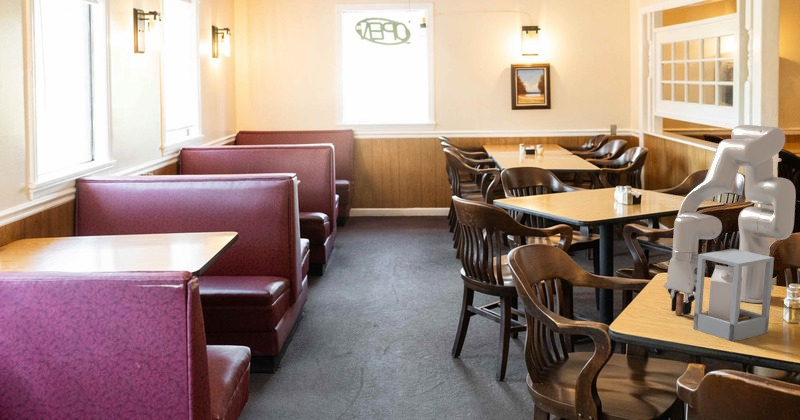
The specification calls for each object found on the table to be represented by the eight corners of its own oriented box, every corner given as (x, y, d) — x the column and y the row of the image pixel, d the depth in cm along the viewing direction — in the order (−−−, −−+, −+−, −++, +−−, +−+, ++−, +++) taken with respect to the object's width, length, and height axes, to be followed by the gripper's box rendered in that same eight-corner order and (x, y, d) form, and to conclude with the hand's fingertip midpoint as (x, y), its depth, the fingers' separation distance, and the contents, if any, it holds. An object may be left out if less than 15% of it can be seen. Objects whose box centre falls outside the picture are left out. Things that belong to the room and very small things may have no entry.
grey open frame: (727, 320, 264) (733, 248, 260) (767, 333, 252) (774, 257, 248) (693, 328, 256) (698, 254, 252) (732, 341, 244) (739, 263, 240)
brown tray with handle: (688, 310, 274) (689, 291, 273) (750, 329, 255) (751, 308, 253) (663, 315, 268) (665, 295, 267) (725, 335, 249) (726, 313, 247)
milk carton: (715, 322, 261) (719, 262, 258) (738, 327, 257) (743, 266, 253) (706, 328, 256) (711, 266, 252) (730, 333, 251) (735, 270, 248)
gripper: (714, 259, 261) (710, 317, 264) (671, 249, 275) (668, 304, 278) (698, 262, 257) (694, 320, 260) (655, 252, 271) (652, 307, 274)
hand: (681, 311), depth 269 cm, fingers closed on brown tray with handle, 3 cm apart
